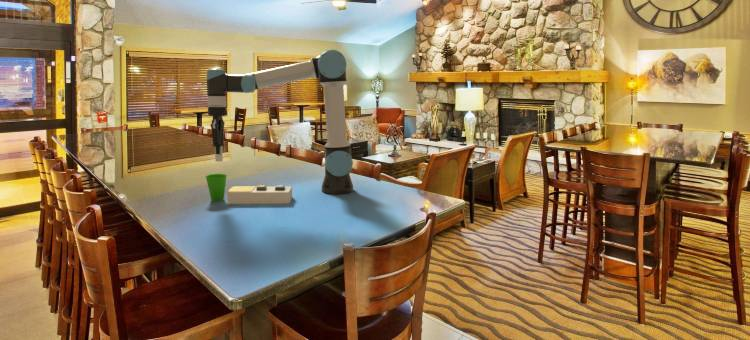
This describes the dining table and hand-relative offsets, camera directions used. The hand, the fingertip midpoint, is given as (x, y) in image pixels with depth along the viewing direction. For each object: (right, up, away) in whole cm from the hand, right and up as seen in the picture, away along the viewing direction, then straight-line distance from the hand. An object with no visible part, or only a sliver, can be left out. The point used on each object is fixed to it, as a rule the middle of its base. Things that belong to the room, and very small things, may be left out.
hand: (219, 161), depth 204 cm
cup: (-2, -17, +3) cm, 18 cm away
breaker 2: (+26, -17, +4) cm, 31 cm away
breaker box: (+17, -17, +3) cm, 25 cm away
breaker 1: (+18, -17, +3) cm, 25 cm away
